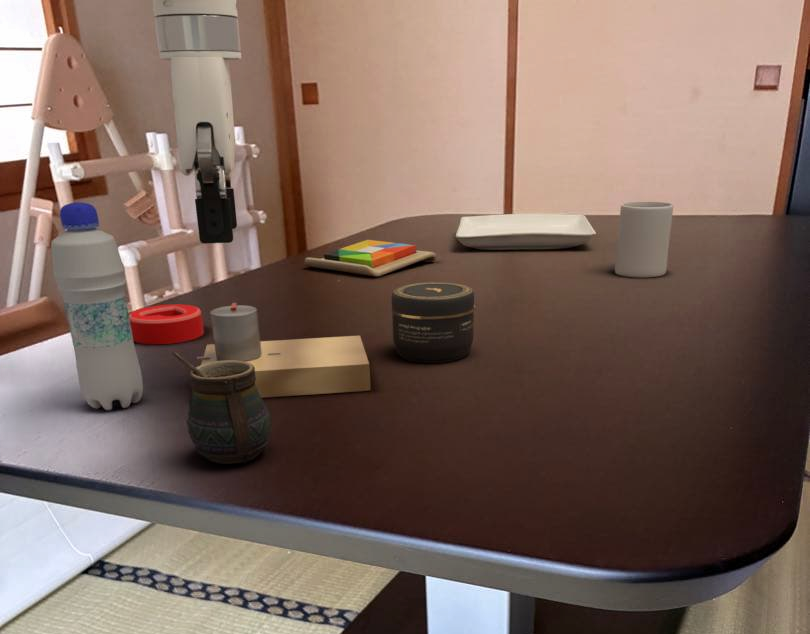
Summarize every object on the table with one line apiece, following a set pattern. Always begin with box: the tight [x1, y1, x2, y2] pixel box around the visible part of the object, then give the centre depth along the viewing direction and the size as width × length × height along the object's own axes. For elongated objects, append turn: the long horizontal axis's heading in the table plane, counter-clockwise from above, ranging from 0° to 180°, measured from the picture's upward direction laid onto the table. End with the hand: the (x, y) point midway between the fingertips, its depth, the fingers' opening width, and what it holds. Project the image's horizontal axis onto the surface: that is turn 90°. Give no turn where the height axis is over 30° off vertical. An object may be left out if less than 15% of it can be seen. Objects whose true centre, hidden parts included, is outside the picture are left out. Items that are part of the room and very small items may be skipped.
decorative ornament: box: [129, 303, 205, 345], centre depth 114 cm, size 10×10×3 cm
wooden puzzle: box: [304, 239, 437, 278], centre depth 155 cm, size 18×19×4 cm
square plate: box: [455, 213, 597, 251], centre depth 175 cm, size 27×27×4 cm
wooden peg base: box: [196, 335, 371, 399], centre depth 94 cm, size 19×12×3 cm, turn 97°
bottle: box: [50, 201, 144, 411], centre depth 84 cm, size 7×7×20 cm
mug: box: [614, 201, 674, 279], centre depth 142 cm, size 12×8×11 cm
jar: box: [390, 281, 476, 364], centre depth 101 cm, size 10×10×8 cm
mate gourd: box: [170, 350, 271, 465], centre depth 73 cm, size 7×8×10 cm
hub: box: [209, 302, 262, 361], centre depth 92 cm, size 5×5×5 cm
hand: (219, 235), depth 86 cm, fingers open, 9 cm apart
